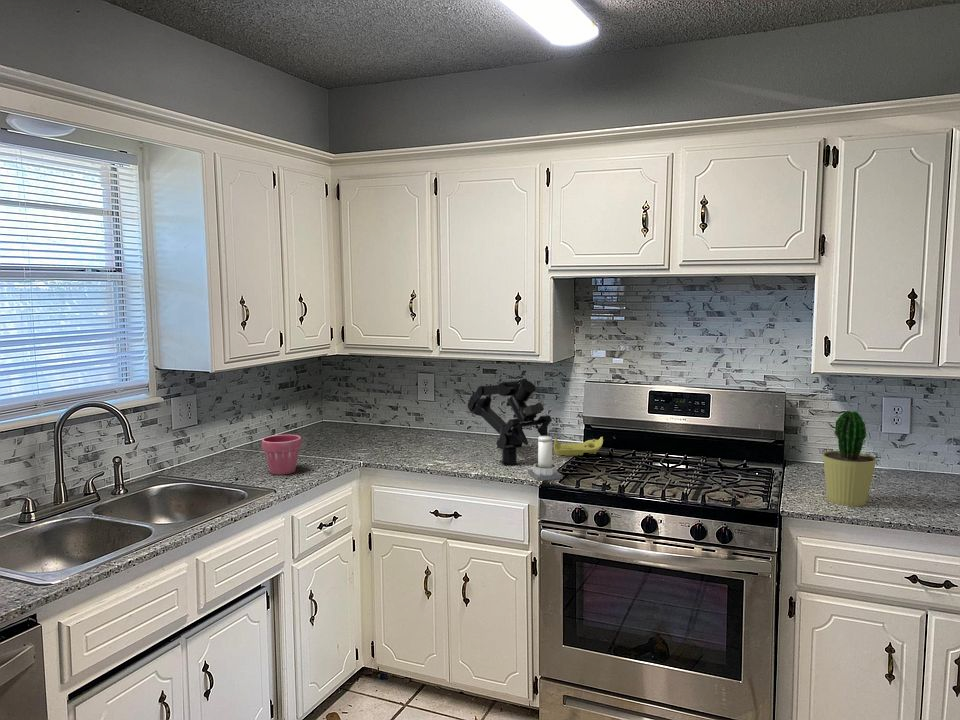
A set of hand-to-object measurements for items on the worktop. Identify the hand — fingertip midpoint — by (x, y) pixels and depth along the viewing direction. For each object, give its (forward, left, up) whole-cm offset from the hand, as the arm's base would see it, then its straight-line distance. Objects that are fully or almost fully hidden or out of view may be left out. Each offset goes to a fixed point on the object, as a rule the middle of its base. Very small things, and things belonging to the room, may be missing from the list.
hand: (537, 442), depth 265 cm
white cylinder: (+4, +1, -10) cm, 11 cm away
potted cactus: (+60, +83, -12) cm, 104 cm away
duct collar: (+4, +1, -12) cm, 12 cm away
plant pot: (-31, -90, -12) cm, 96 cm away
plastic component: (-24, +27, -12) cm, 38 cm away
